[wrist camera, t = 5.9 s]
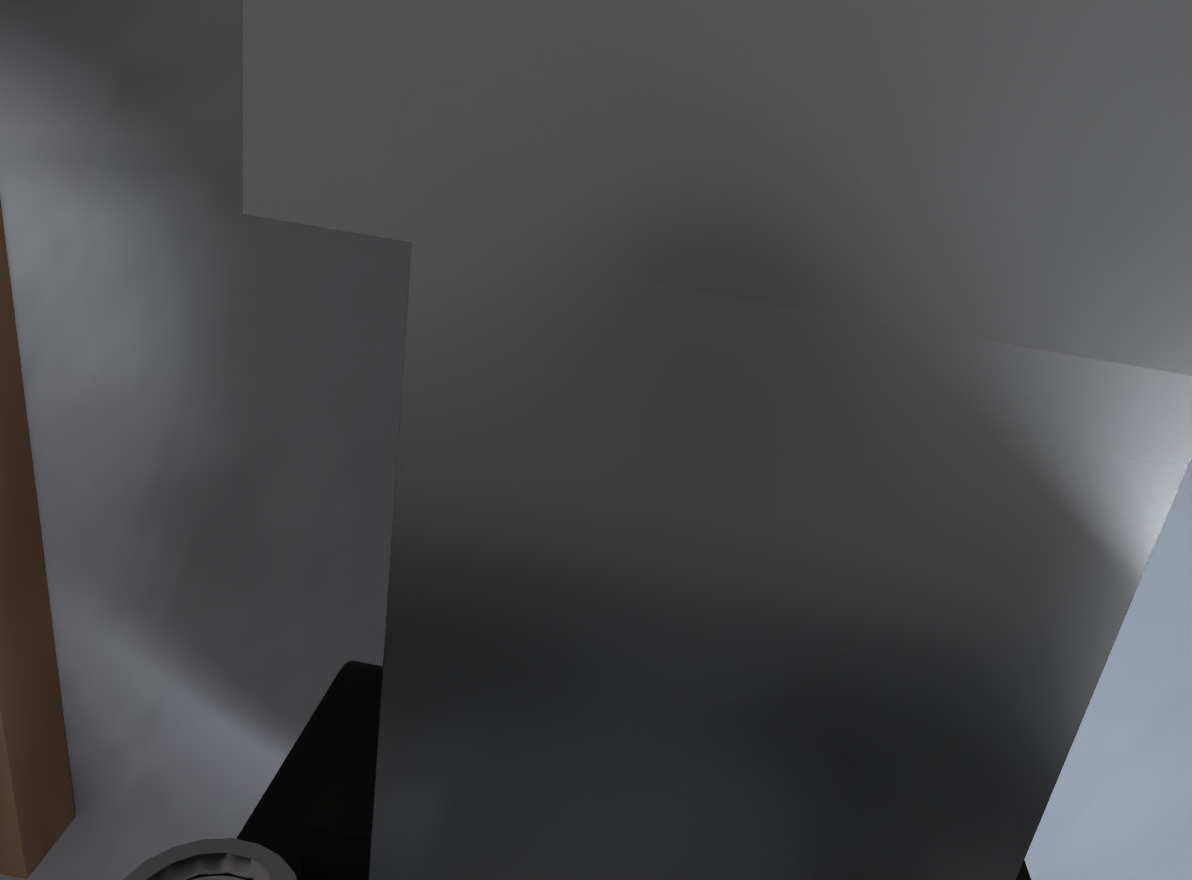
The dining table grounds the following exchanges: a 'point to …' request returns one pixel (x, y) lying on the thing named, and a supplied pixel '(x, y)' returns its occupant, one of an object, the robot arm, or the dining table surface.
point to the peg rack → (25, 637)
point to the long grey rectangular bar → (750, 410)
